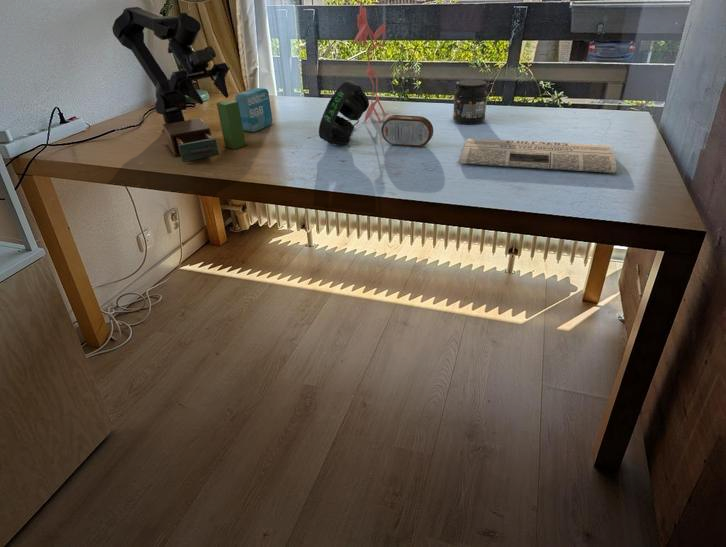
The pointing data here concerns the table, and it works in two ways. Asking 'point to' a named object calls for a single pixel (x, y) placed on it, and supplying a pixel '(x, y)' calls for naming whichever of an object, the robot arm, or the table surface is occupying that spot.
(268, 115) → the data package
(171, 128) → the cabinet
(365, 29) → the figurine
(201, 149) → the drawer
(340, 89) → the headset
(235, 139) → the green beveled box
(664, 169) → the table surface
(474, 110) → the supplement container
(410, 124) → the tin
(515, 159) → the newspaper
